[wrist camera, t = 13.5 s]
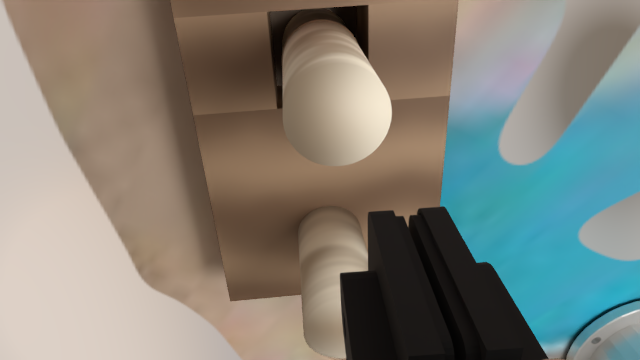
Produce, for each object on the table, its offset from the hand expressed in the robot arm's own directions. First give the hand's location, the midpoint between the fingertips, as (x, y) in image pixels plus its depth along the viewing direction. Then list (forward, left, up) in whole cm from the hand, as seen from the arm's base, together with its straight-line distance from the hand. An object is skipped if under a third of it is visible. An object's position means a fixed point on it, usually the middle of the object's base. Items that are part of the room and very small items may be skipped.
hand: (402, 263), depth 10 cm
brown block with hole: (-4, +1, -20) cm, 20 cm away
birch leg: (+1, +1, -20) cm, 20 cm away
